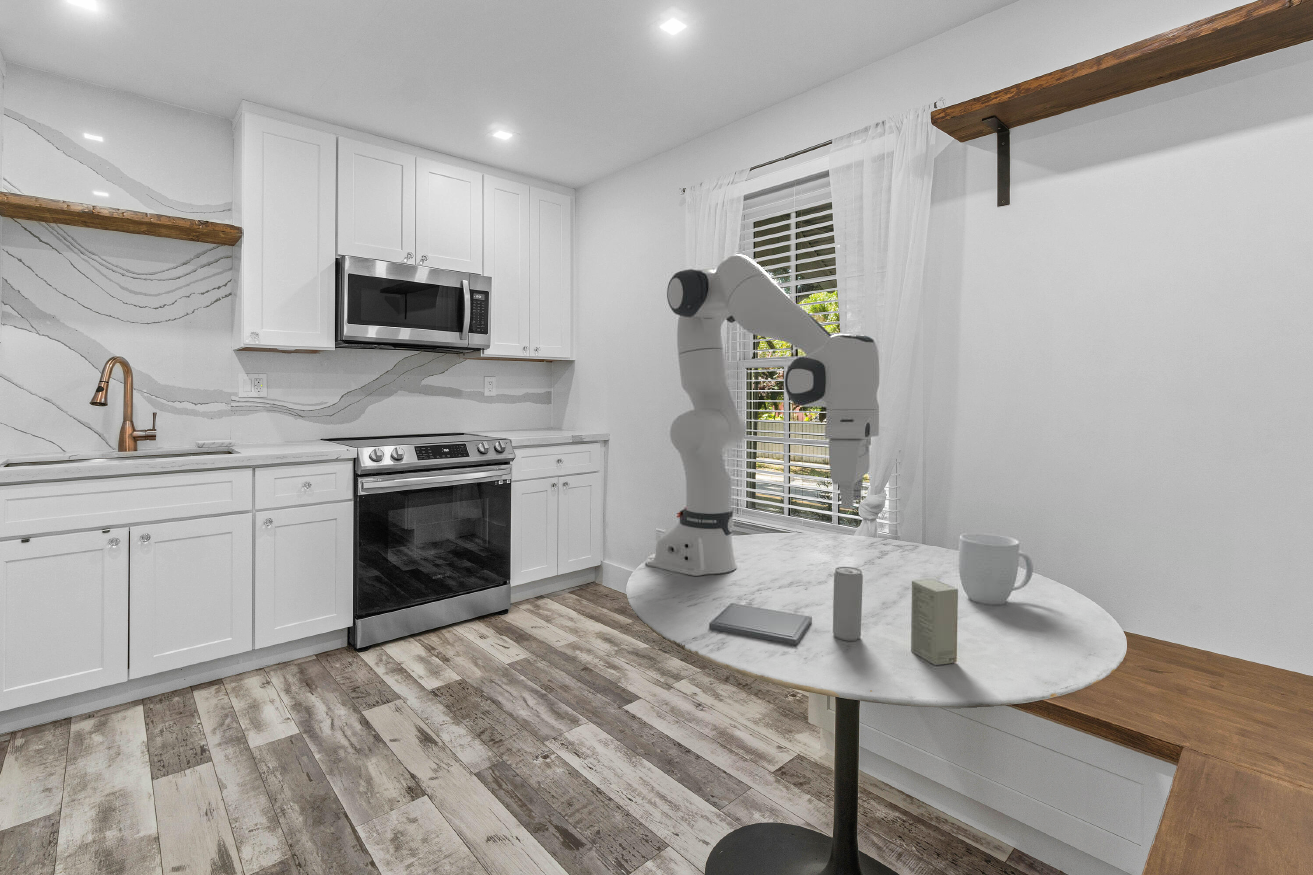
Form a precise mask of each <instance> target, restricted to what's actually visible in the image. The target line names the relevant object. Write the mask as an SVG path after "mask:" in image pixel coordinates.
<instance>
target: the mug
mask: <svg viewBox="0 0 1313 875" xmlns="http://www.w3.org/2000/svg"><path fill="white" fill-rule="evenodd" d="M958 544H959V546H958V574H959V580H960V583H961V586H962V589H963V591H964V592H965V594H966V597H968V599H970V600H971V601H972V602H975V603H978V604H981V605H989V606H991V605H992V606H1000V605H1003V604H1005V602H1006V601H1007V600H1008V599H1009V597H1010V596H1011V595H1012V594H1011V593H1012V592H1013V591H1017V590H1021V589H1023V588H1025V586H1027V585H1028V584H1029V582H1030V580H1031V579H1032V576H1033V574H1034V564H1033V561H1032V559H1031V557H1030V556H1029V555H1028V554H1027V553H1025V552H1023V551H1022V550H1020V542H1019V540H1017V539H1015V538H1013V537H1009V536H1005V535H999V534H992V533H985V532H981V533H980V532H971V533H969V532H968V533H963V534H961V535H959V542H958ZM1020 557H1022V558H1023V559H1024V562H1025V566H1026V567H1025V572H1024V576H1023V577H1022V579H1021V580H1020V581H1019V582H1018V583H1016V581H1017V576H1018V570H1019V564H1020V563H1019V562H1020V560H1019V559H1020Z"/></svg>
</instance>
